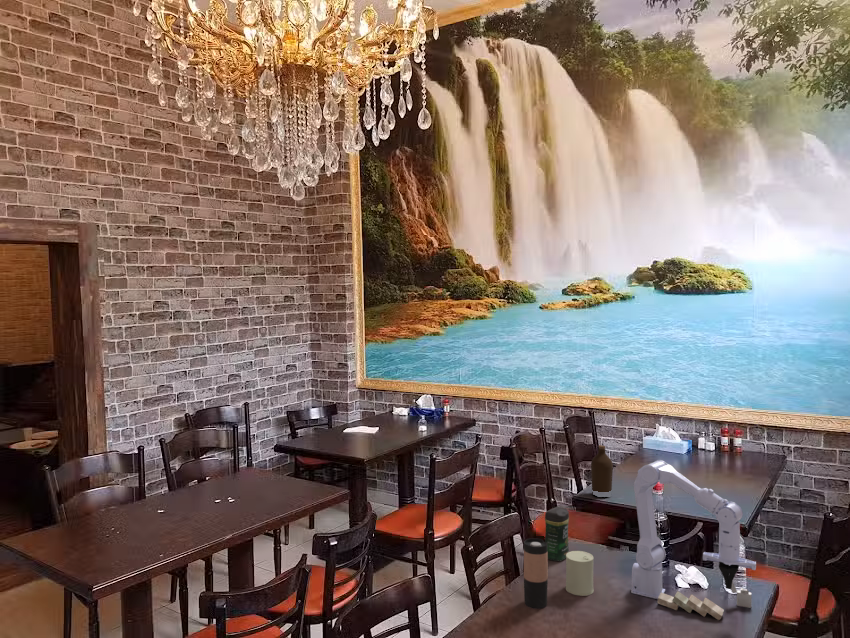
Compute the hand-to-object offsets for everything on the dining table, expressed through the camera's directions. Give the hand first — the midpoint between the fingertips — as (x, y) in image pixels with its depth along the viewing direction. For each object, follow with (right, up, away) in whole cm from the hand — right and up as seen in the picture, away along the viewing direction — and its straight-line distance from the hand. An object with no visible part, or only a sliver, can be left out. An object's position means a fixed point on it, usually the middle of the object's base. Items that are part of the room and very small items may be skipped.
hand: (728, 587), depth 194 cm
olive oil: (-4, -6, +123) cm, 123 cm away
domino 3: (-5, -9, +4) cm, 11 cm away
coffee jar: (-43, -9, +48) cm, 65 cm away
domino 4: (-2, -9, +1) cm, 9 cm away
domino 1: (-12, -9, +8) cm, 17 cm away
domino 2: (-9, -9, +6) cm, 14 cm away
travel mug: (-57, -10, +11) cm, 59 cm away
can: (-41, -10, +21) cm, 47 cm away
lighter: (+8, -10, +10) cm, 16 cm away
